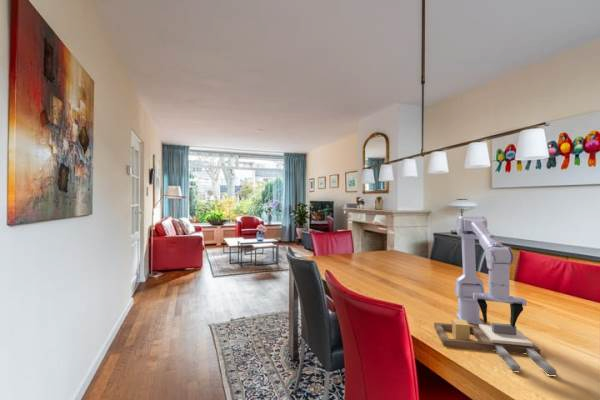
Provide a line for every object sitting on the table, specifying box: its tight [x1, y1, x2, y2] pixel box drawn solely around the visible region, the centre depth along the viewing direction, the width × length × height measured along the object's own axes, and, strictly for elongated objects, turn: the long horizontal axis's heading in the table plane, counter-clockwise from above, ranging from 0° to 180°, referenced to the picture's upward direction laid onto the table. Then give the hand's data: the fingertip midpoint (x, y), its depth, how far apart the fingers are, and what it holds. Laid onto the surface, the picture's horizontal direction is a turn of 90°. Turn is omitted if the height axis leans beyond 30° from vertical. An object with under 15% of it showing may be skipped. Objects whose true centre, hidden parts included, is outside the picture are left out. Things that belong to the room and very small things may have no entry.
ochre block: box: [451, 318, 471, 341], centre depth 105 cm, size 4×4×6 cm
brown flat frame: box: [433, 322, 557, 376], centre depth 98 cm, size 26×29×2 cm
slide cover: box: [478, 322, 534, 346], centre depth 102 cm, size 12×12×4 cm
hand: (498, 323), depth 96 cm, fingers open, 7 cm apart
